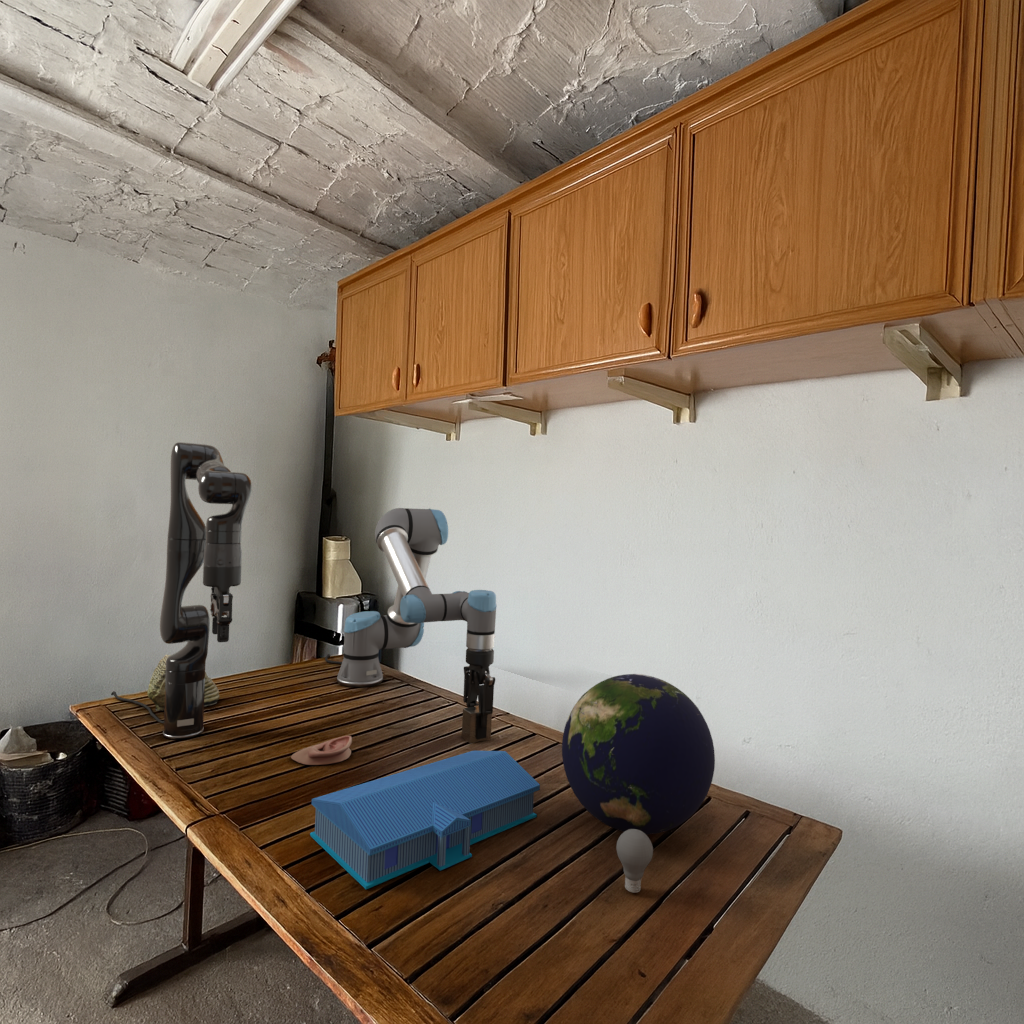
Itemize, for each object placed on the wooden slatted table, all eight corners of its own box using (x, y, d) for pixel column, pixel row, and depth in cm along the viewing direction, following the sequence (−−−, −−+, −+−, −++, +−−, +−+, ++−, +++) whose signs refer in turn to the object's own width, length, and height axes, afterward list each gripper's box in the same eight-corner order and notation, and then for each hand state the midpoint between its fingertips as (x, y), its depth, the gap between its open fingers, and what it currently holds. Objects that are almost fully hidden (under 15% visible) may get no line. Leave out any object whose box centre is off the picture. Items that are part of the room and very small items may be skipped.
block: (490, 739, 170) (492, 710, 170) (469, 743, 167) (470, 713, 166) (482, 733, 174) (483, 705, 174) (461, 737, 171) (462, 708, 170)
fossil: (144, 707, 182) (145, 655, 182) (212, 696, 194) (213, 647, 194) (151, 716, 175) (153, 662, 175) (221, 703, 188) (223, 653, 188)
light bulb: (610, 879, 108) (613, 822, 108) (644, 879, 109) (647, 822, 109) (619, 902, 102) (622, 840, 102) (655, 901, 103) (658, 840, 103)
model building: (376, 899, 100) (378, 836, 100) (308, 834, 119) (310, 781, 118) (548, 822, 127) (550, 773, 127) (472, 779, 145) (474, 735, 145)
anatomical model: (284, 745, 150) (309, 728, 161) (283, 762, 150) (308, 744, 161) (336, 752, 147) (358, 734, 158) (335, 769, 147) (357, 750, 158)
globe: (537, 843, 119) (545, 684, 118) (581, 780, 147) (587, 651, 146) (703, 885, 108) (711, 711, 107) (716, 809, 135) (723, 670, 135)
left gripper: (246, 566, 133) (244, 643, 134) (236, 559, 146) (233, 630, 146) (207, 567, 129) (204, 646, 130) (200, 560, 142) (197, 632, 142)
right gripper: (509, 654, 164) (505, 743, 165) (476, 640, 179) (473, 722, 180) (484, 657, 160) (480, 748, 161) (452, 642, 175) (449, 726, 176)
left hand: (220, 637), depth 138 cm, fingers open, 8 cm apart
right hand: (476, 734), depth 170 cm, fingers closed on block, 5 cm apart
